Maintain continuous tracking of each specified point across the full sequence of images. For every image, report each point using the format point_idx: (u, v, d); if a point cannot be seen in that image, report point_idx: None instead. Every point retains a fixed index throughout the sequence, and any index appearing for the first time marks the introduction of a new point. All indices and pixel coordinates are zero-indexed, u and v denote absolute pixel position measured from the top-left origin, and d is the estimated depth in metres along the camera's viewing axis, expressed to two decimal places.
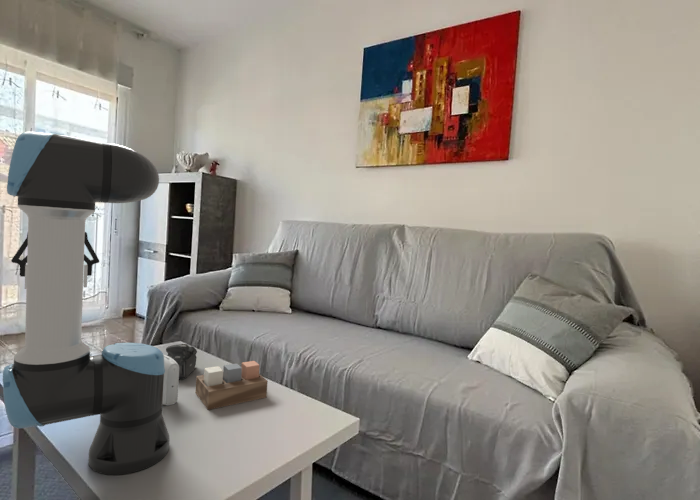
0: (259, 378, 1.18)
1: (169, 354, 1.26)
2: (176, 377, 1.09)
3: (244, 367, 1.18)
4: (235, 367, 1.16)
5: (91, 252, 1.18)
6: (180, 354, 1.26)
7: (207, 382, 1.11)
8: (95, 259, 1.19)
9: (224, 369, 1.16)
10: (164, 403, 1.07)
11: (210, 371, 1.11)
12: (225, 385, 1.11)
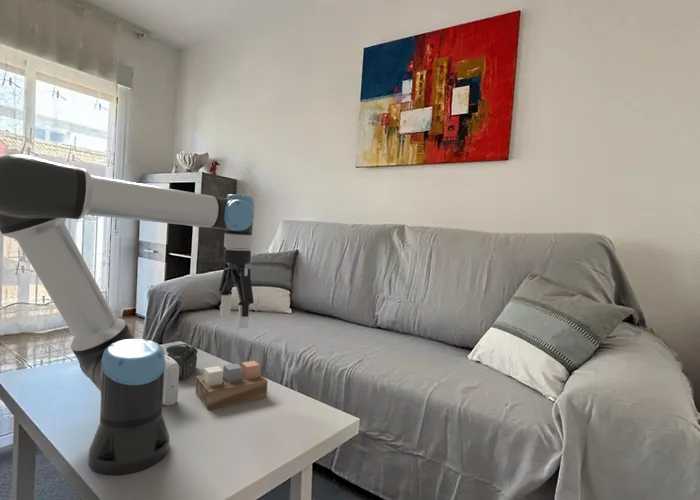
0: (259, 378, 1.18)
1: (169, 354, 1.26)
2: (176, 377, 1.09)
3: (244, 367, 1.18)
4: (235, 367, 1.16)
5: (242, 291, 1.08)
6: (181, 354, 1.26)
7: (207, 382, 1.11)
8: (243, 299, 1.07)
9: (224, 369, 1.16)
10: (164, 403, 1.07)
11: (210, 371, 1.11)
12: (225, 385, 1.11)
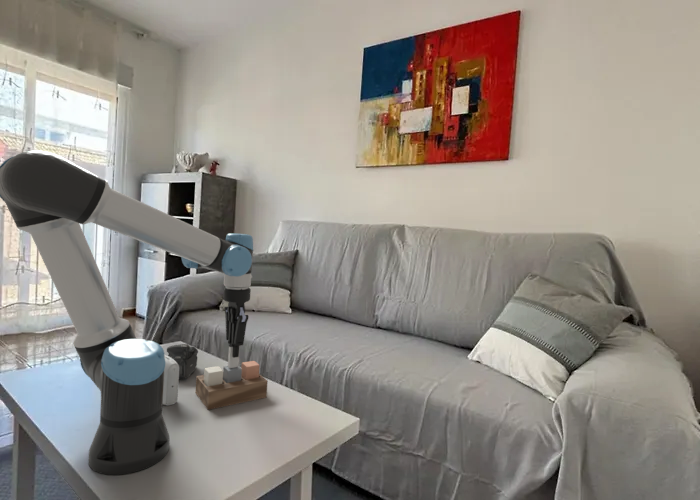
0: (259, 378, 1.18)
1: (170, 354, 1.26)
2: (176, 377, 1.09)
3: (244, 367, 1.18)
4: (235, 368, 1.16)
5: (235, 334, 1.12)
6: (181, 355, 1.26)
7: (207, 382, 1.11)
8: (234, 341, 1.13)
9: (224, 370, 1.16)
10: (164, 403, 1.07)
11: (210, 371, 1.11)
12: (225, 385, 1.11)
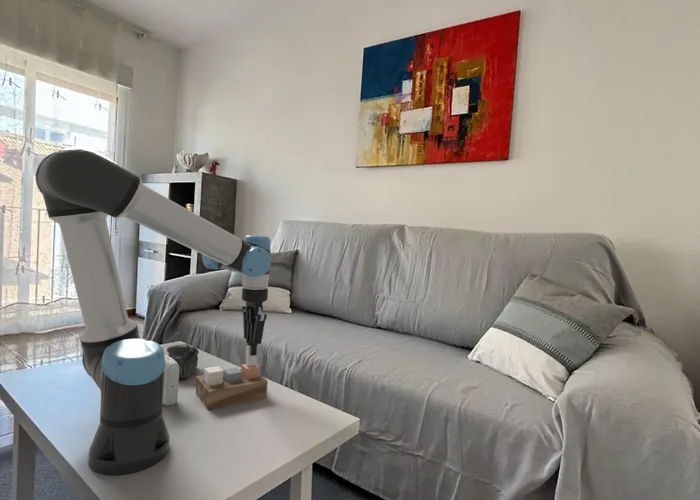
0: (259, 378, 1.18)
1: (170, 354, 1.26)
2: (176, 377, 1.09)
3: (244, 369, 1.18)
4: (235, 371, 1.16)
5: (254, 333, 1.15)
6: (181, 355, 1.25)
7: (207, 382, 1.11)
8: (252, 340, 1.16)
9: (224, 373, 1.16)
10: (164, 403, 1.07)
11: (210, 371, 1.11)
12: (225, 385, 1.11)
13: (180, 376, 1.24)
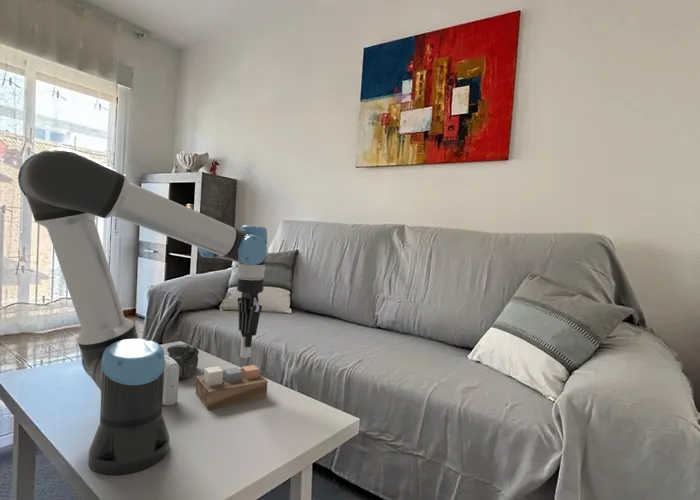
0: (259, 378, 1.18)
1: (170, 354, 1.26)
2: (176, 377, 1.09)
3: (244, 371, 1.18)
4: (235, 371, 1.16)
5: (248, 324, 1.14)
6: (181, 355, 1.25)
7: (207, 382, 1.11)
8: (247, 331, 1.15)
9: (224, 373, 1.16)
10: (164, 403, 1.07)
11: (210, 371, 1.11)
12: (225, 385, 1.11)
13: (180, 376, 1.24)
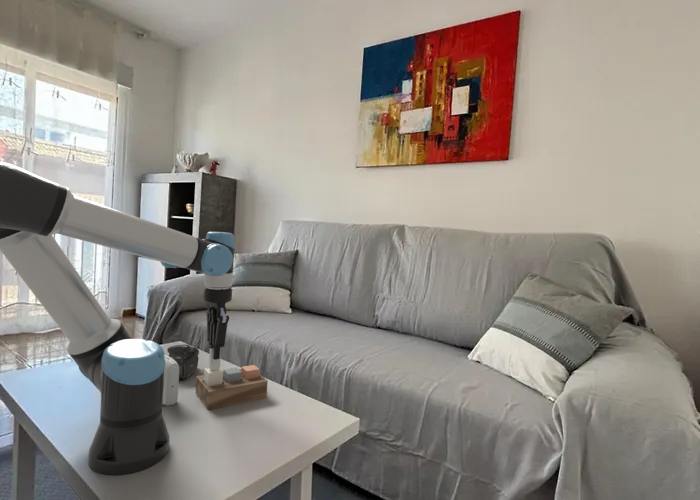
0: (259, 378, 1.18)
1: (170, 354, 1.26)
2: (176, 377, 1.09)
3: (244, 371, 1.18)
4: (235, 371, 1.16)
5: (216, 335, 1.09)
6: (181, 355, 1.25)
7: (207, 382, 1.11)
8: (215, 343, 1.09)
9: (224, 373, 1.16)
10: (164, 403, 1.07)
11: (210, 371, 1.11)
12: (225, 385, 1.11)
13: (180, 376, 1.24)
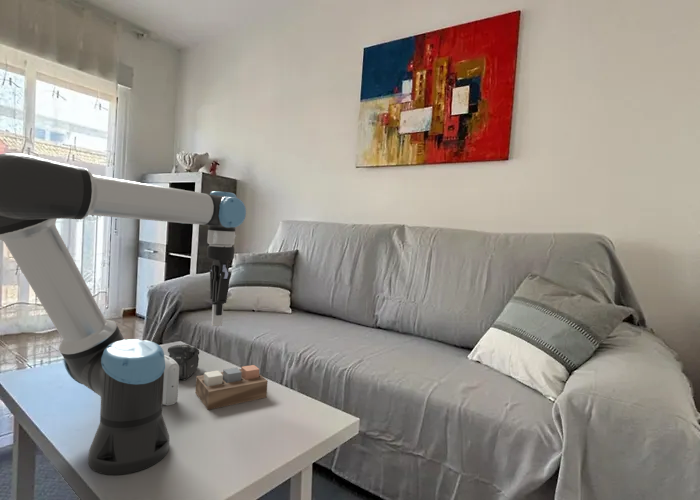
0: (259, 378, 1.18)
1: (170, 354, 1.26)
2: (176, 377, 1.09)
3: (244, 371, 1.18)
4: (235, 371, 1.16)
5: (218, 291, 1.13)
6: (181, 355, 1.25)
7: (207, 386, 1.11)
8: (217, 299, 1.13)
9: (224, 373, 1.16)
10: (164, 403, 1.07)
11: (210, 375, 1.11)
12: (225, 385, 1.11)
13: (180, 376, 1.24)
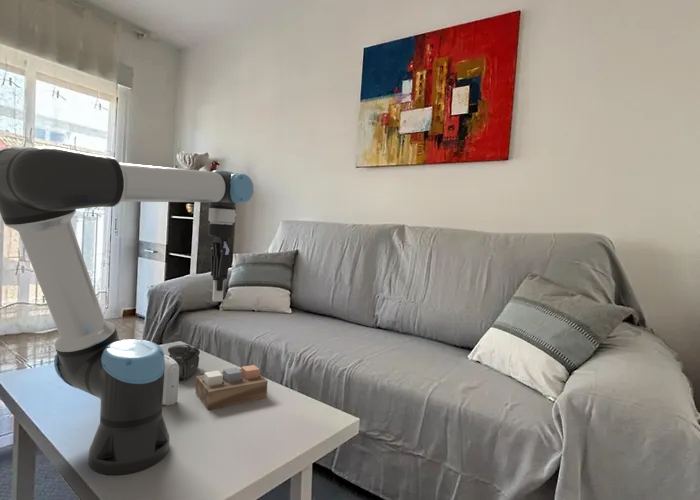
0: (259, 378, 1.18)
1: (171, 354, 1.26)
2: (176, 377, 1.09)
3: (244, 371, 1.18)
4: (235, 371, 1.16)
5: (219, 267, 1.17)
6: (182, 355, 1.25)
7: (207, 386, 1.11)
8: (218, 274, 1.17)
9: (224, 373, 1.16)
10: (164, 403, 1.07)
11: (210, 375, 1.11)
12: (225, 385, 1.11)
13: (180, 376, 1.24)
